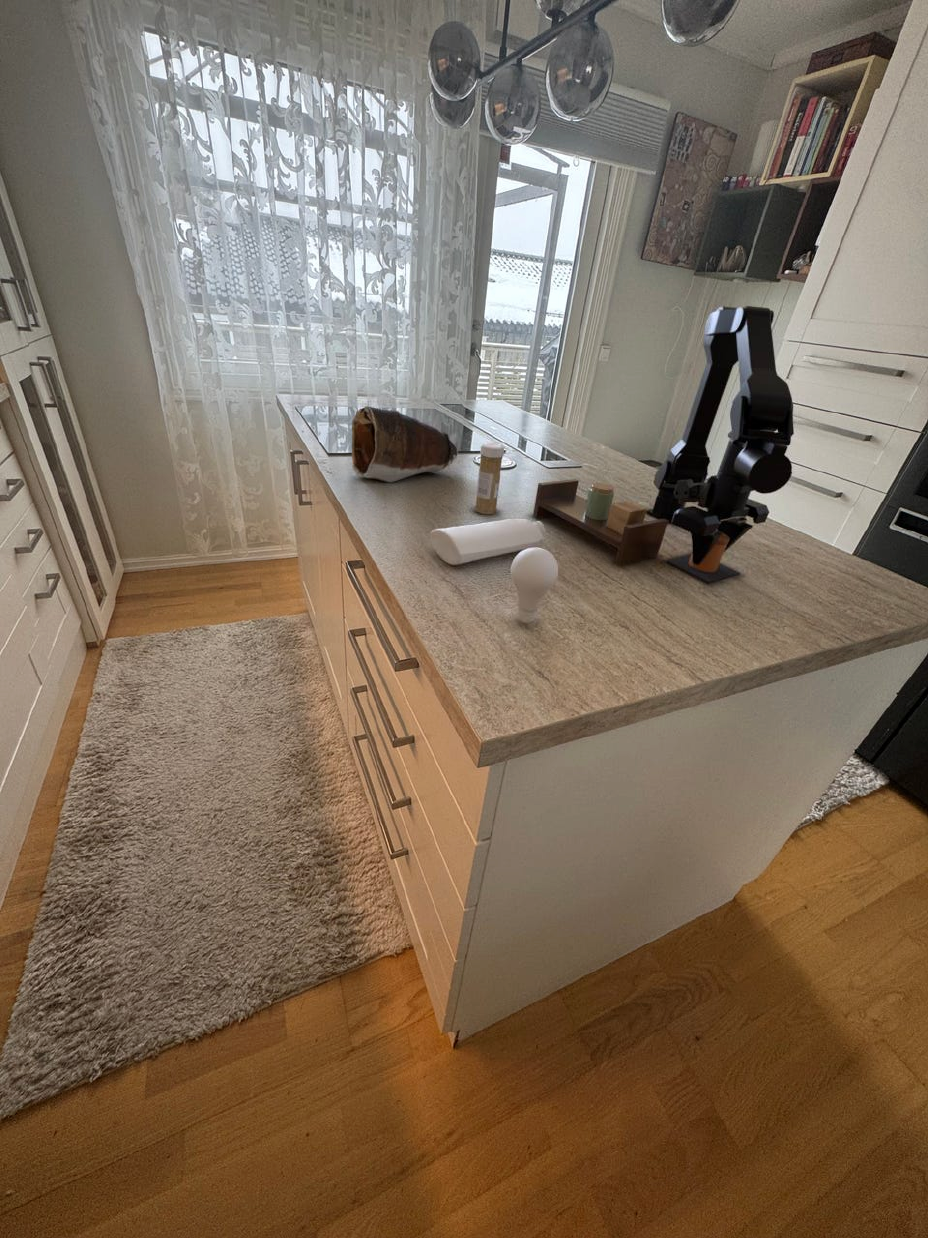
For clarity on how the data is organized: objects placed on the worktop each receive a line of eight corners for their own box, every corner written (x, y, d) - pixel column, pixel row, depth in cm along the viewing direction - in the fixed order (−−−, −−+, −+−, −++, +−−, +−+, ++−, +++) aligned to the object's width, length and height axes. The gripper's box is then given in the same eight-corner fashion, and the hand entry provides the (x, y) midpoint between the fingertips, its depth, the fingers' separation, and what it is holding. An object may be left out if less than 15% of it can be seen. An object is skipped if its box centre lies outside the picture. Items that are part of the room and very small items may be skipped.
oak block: (622, 523, 96) (628, 500, 94) (640, 532, 93) (647, 508, 91) (605, 526, 94) (611, 503, 92) (623, 535, 91) (630, 511, 89)
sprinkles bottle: (500, 513, 106) (509, 447, 99) (482, 516, 104) (490, 448, 97) (487, 506, 110) (495, 441, 102) (470, 508, 107) (476, 442, 100)
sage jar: (596, 510, 101) (602, 481, 98) (613, 518, 98) (620, 488, 95) (578, 513, 99) (585, 483, 96) (595, 521, 96) (603, 491, 93)
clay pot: (478, 427, 120) (379, 406, 106) (466, 493, 125) (370, 482, 111) (445, 421, 131) (352, 402, 117) (436, 482, 136) (345, 471, 122)
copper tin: (699, 558, 95) (710, 527, 92) (723, 569, 91) (735, 538, 88) (682, 562, 92) (693, 531, 89) (706, 574, 89) (718, 542, 86)
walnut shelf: (568, 510, 112) (575, 478, 108) (657, 556, 95) (668, 520, 91) (532, 516, 107) (538, 483, 103) (619, 565, 90) (630, 528, 86)
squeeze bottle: (429, 549, 89) (430, 521, 86) (520, 533, 98) (524, 507, 96) (458, 573, 82) (461, 544, 79) (553, 553, 92) (558, 526, 89)
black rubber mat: (696, 554, 97) (697, 552, 97) (739, 574, 91) (740, 572, 91) (665, 562, 93) (666, 560, 93) (708, 584, 87) (709, 582, 86)
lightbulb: (500, 610, 73) (510, 538, 68) (542, 611, 74) (556, 540, 68) (507, 634, 68) (518, 558, 63) (551, 635, 69) (567, 561, 63)
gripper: (727, 456, 93) (698, 536, 101) (659, 463, 84) (634, 551, 92) (786, 474, 85) (750, 559, 94) (719, 485, 76) (685, 578, 85)
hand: (704, 561), depth 91 cm, fingers closed on copper tin, 5 cm apart
